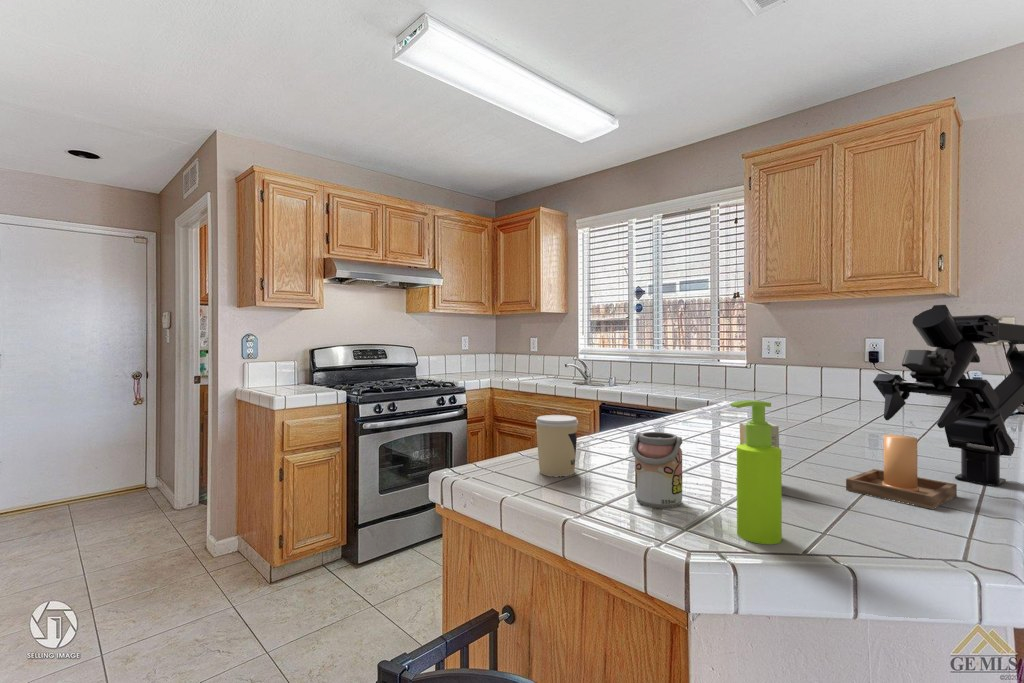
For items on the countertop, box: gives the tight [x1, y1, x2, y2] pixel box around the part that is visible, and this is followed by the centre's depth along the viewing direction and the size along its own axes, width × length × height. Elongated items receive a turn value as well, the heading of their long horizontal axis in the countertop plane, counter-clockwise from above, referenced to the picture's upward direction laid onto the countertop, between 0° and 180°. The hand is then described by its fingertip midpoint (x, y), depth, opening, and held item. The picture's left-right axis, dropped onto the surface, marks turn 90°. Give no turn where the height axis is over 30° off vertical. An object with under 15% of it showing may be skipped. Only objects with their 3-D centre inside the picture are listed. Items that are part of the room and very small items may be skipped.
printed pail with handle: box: [631, 431, 683, 509], centre depth 86 cm, size 9×8×12 cm
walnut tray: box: [845, 468, 958, 510], centre depth 92 cm, size 13×13×2 cm
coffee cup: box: [535, 414, 579, 478], centre depth 107 cm, size 9×9×12 cm
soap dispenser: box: [729, 399, 783, 545], centre depth 71 cm, size 6×7×20 cm
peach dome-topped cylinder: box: [882, 434, 919, 493], centre depth 92 cm, size 5×5×10 cm
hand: (911, 422), depth 93 cm, fingers open, 9 cm apart
